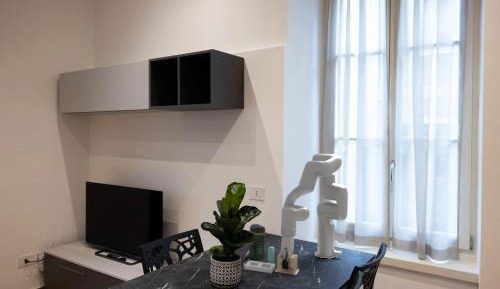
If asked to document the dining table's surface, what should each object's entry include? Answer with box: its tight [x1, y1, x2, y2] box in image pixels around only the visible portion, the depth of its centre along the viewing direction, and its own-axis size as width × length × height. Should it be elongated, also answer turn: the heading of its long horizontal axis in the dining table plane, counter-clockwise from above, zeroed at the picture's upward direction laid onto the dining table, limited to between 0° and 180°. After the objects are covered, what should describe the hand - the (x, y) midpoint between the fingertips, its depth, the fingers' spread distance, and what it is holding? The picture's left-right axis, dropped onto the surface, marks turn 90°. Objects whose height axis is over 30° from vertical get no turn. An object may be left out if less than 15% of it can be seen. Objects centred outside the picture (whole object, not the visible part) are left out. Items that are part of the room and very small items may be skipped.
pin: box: [267, 246, 275, 264], centre depth 186 cm, size 3×3×9 cm
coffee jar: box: [248, 223, 266, 261], centre depth 196 cm, size 10×8×19 cm
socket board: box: [243, 260, 276, 274], centre depth 178 cm, size 14×8×2 cm, turn 72°
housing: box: [276, 253, 299, 275], centre depth 176 cm, size 9×6×8 cm
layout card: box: [274, 268, 300, 276], centre depth 176 cm, size 11×8×5 cm
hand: (287, 265), depth 176 cm, fingers open, 9 cm apart
